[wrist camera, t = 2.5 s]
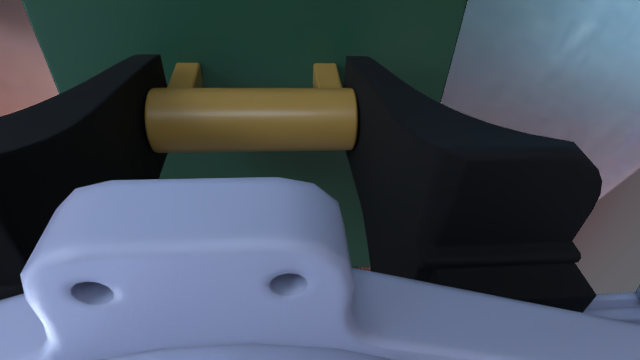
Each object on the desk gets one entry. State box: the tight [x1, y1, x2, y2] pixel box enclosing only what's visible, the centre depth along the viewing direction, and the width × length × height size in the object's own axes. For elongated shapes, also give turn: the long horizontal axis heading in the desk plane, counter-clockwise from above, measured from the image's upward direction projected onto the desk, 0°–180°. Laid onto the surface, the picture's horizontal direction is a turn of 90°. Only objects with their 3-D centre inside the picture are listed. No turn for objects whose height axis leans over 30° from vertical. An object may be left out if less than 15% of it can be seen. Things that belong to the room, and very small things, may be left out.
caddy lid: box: [22, 0, 468, 267], centre depth 13 cm, size 14×12×4 cm
